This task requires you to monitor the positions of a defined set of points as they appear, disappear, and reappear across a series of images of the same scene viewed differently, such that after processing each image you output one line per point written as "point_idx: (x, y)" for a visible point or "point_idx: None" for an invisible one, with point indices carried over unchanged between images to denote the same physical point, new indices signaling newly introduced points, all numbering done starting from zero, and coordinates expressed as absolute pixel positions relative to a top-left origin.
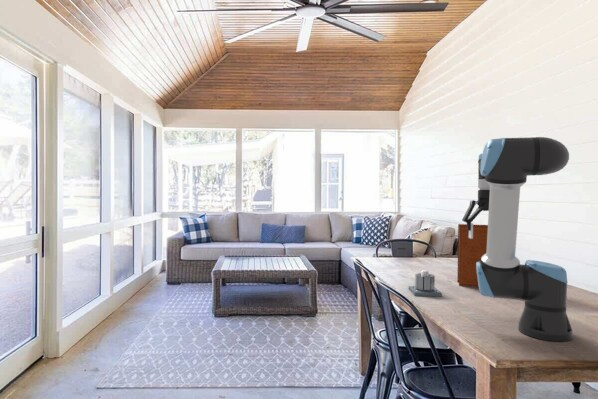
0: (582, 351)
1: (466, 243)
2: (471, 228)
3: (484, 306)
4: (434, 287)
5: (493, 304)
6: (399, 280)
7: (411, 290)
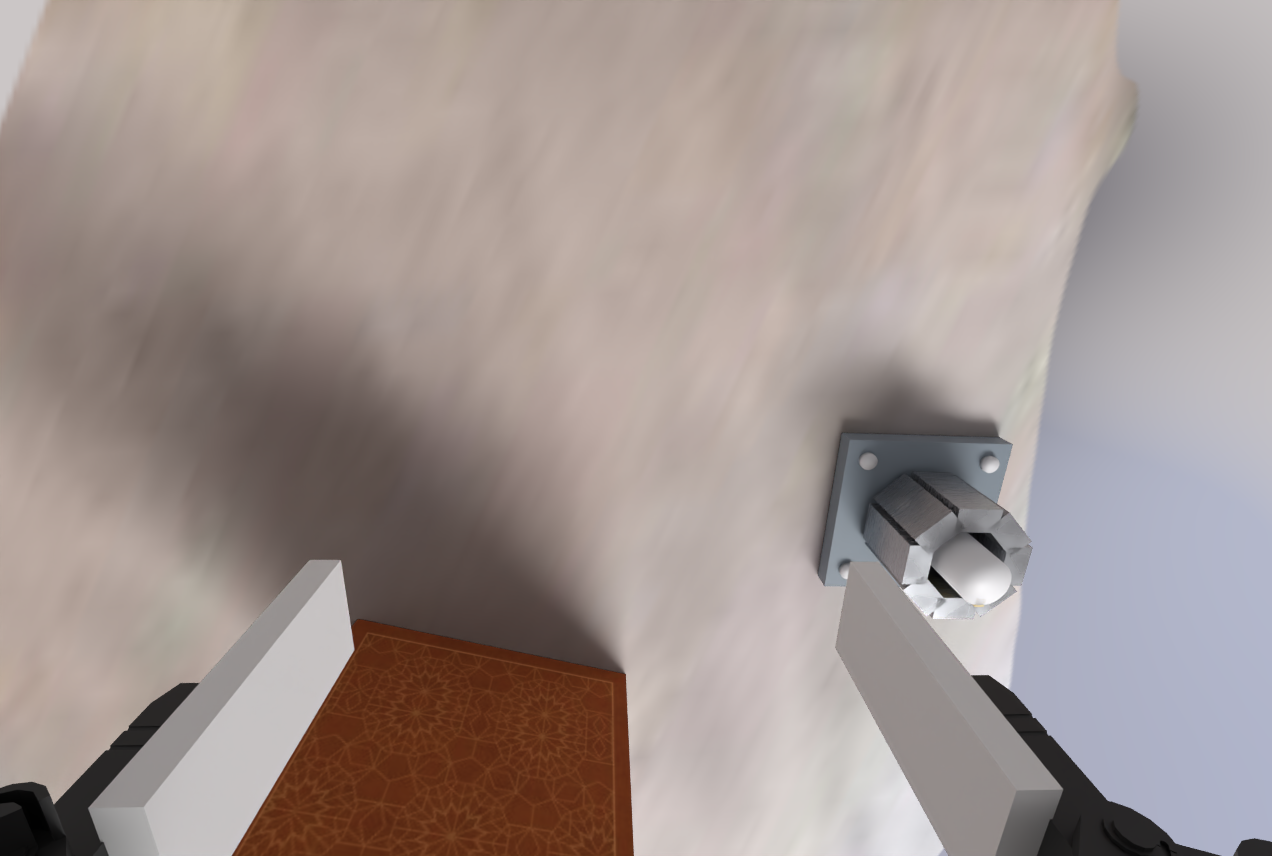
0: None
1: None
2: (973, 686)
3: (682, 216)
4: (833, 564)
5: (603, 265)
6: None
7: None
